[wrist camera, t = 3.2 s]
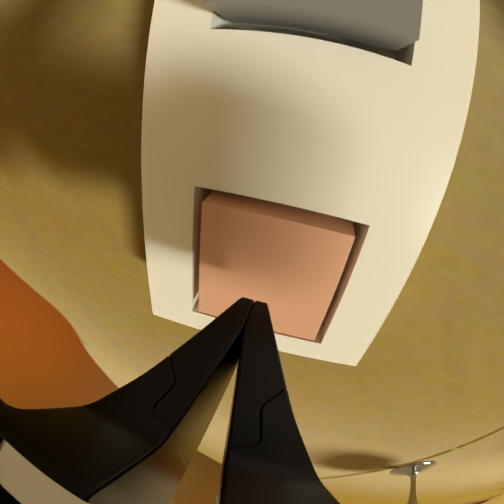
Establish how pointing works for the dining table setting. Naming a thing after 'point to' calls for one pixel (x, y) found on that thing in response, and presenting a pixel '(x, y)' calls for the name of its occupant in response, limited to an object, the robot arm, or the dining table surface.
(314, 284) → the terracotta key
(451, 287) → the dining table surface
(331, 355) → the cream block puzzle board
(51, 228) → the dining table surface
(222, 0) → the charcoal key
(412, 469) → the wine glass
